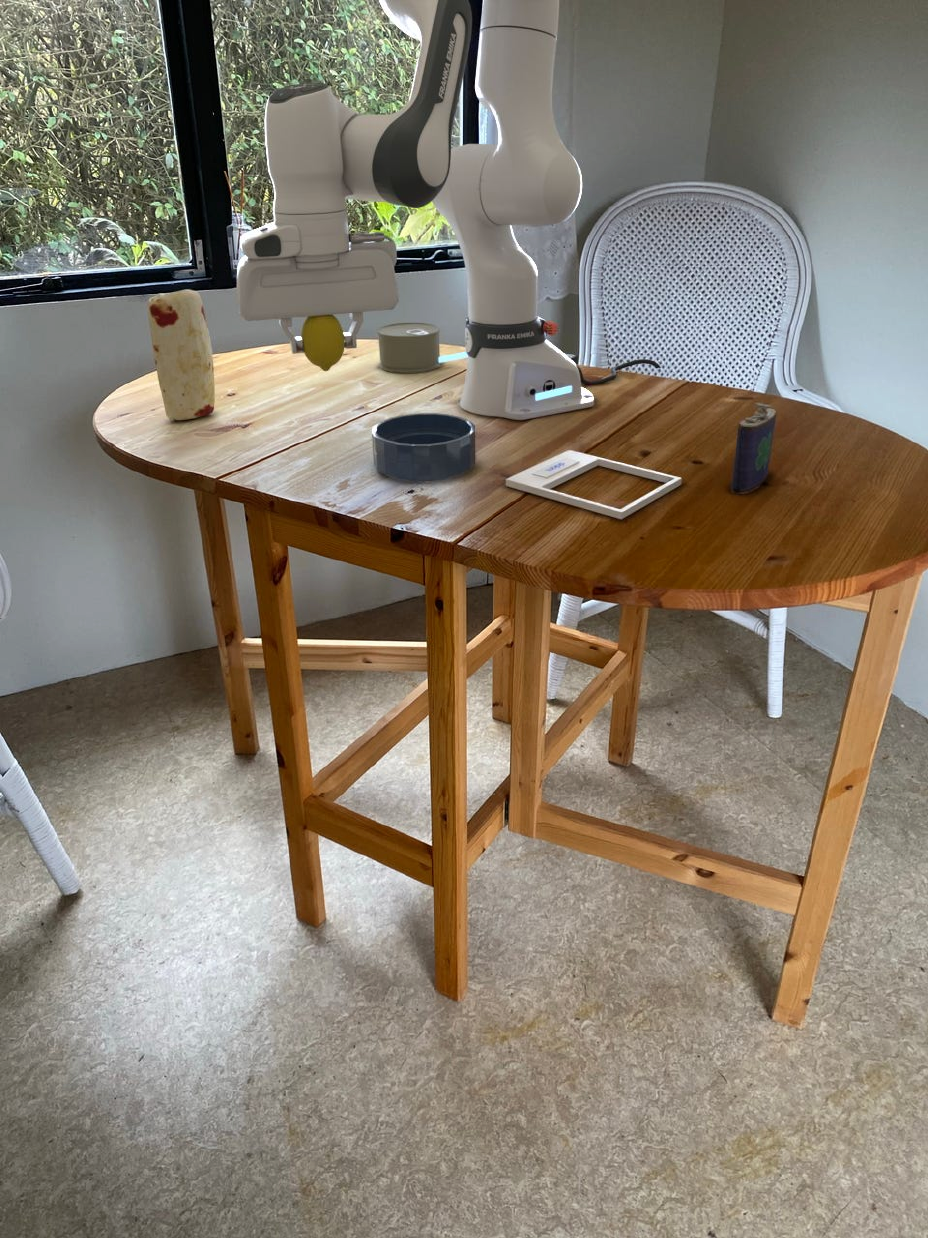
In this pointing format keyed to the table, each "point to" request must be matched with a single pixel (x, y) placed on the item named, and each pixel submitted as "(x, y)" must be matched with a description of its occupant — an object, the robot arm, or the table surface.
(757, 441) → the flask
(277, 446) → the table surface
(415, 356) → the can
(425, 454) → the bowl
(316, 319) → the lemon
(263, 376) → the table surface
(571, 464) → the photo frame
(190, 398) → the food model
